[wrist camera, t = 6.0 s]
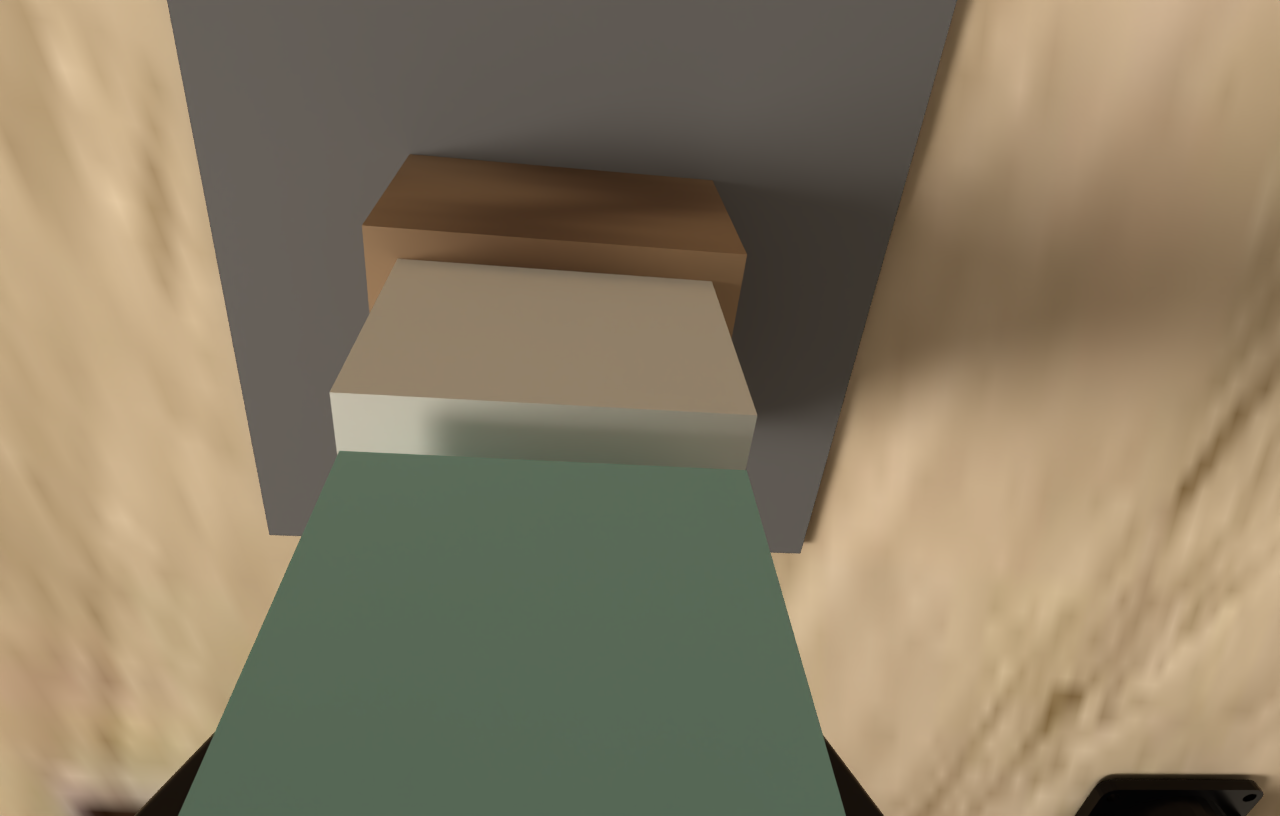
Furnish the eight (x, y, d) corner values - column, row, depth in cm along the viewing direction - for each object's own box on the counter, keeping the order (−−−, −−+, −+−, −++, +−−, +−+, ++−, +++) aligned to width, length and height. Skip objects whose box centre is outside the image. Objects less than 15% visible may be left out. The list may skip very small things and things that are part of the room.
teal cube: (746, 470, 9) (863, 878, 5) (692, 719, 11) (745, 1123, 8) (339, 450, 9) (147, 885, 5) (370, 714, 11) (259, 1144, 7)
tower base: (712, 180, 16) (747, 254, 13) (674, 425, 19) (694, 537, 16) (409, 154, 15) (361, 225, 12) (422, 412, 19) (388, 525, 15)
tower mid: (711, 281, 13) (757, 415, 10) (673, 516, 16) (698, 685, 12) (397, 259, 12) (329, 392, 9) (412, 505, 15) (364, 681, 12)
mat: (953, -22, 15) (962, -20, 14) (796, 543, 22) (800, 553, 22) (155, -116, 13) (144, -117, 13) (274, 524, 21) (269, 534, 20)
